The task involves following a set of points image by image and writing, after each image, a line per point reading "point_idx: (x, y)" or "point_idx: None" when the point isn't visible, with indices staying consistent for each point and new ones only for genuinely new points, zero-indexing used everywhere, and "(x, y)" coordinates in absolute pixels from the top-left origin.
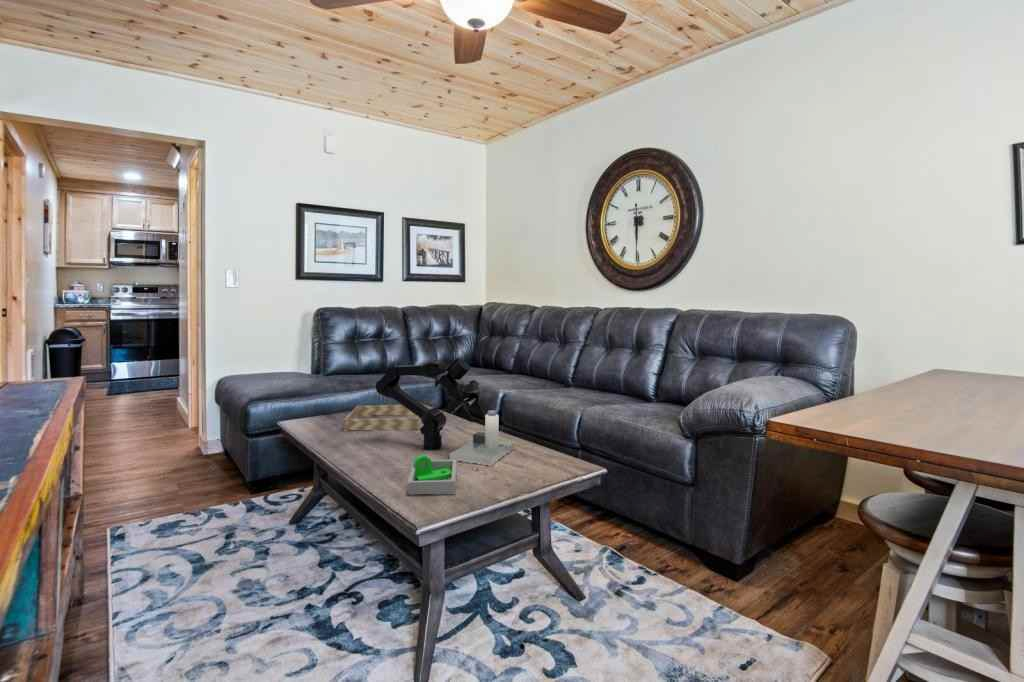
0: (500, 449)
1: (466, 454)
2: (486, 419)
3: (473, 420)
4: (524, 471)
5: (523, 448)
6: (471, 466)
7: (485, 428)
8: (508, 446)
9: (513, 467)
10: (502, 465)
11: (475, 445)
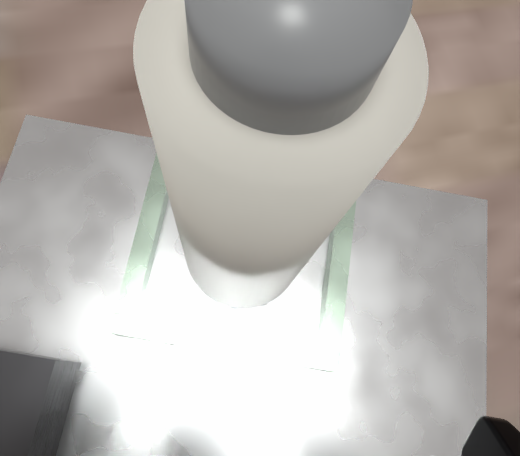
0: None
1: (448, 430)
2: (379, 170)
3: (507, 425)
4: (470, 24)
5: (26, 83)
6: (514, 346)
7: (310, 249)
8: (144, 138)
9: (430, 86)
10: (419, 151)
11: (164, 434)
